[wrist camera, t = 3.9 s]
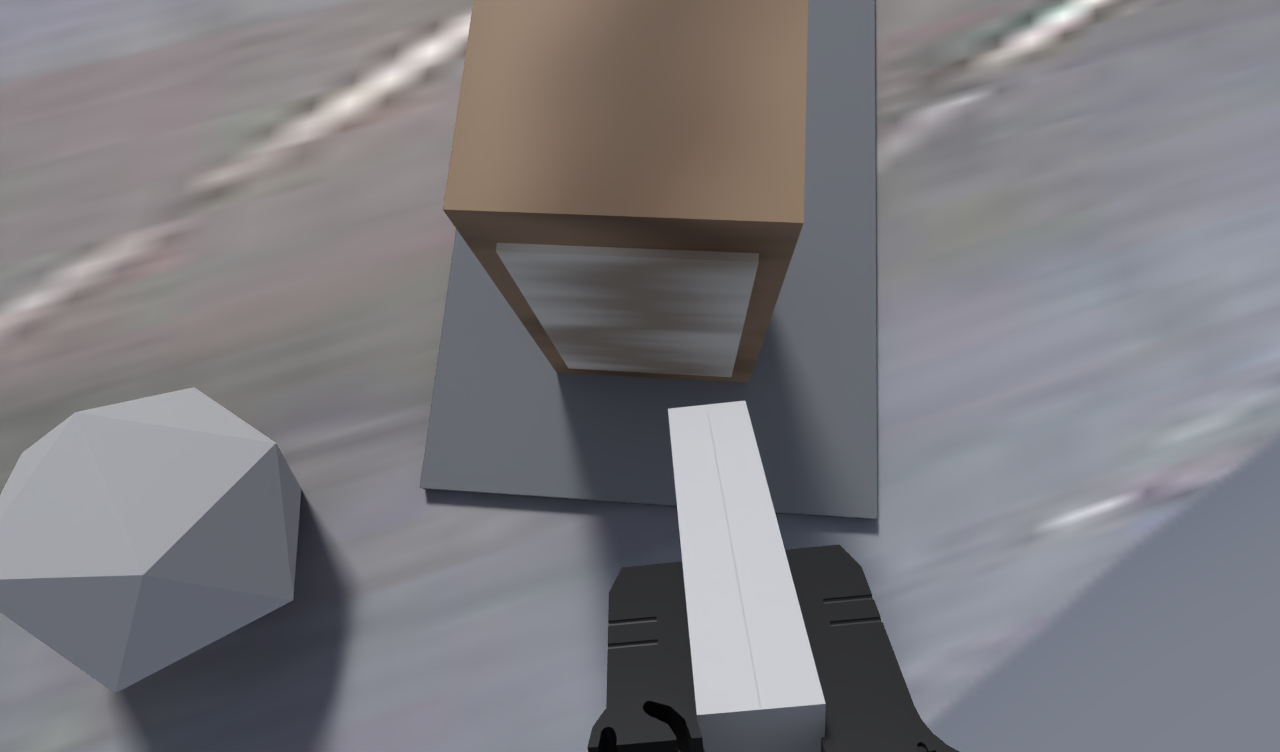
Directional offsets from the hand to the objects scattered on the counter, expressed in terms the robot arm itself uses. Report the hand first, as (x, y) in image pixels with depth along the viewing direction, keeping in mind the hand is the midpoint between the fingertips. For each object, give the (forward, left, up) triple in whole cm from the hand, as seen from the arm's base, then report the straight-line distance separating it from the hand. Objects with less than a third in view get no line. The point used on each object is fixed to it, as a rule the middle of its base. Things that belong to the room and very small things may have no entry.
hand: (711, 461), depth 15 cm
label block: (-2, +7, -11) cm, 13 cm away
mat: (-2, +12, -12) cm, 17 cm away
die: (-17, -2, -12) cm, 21 cm away
